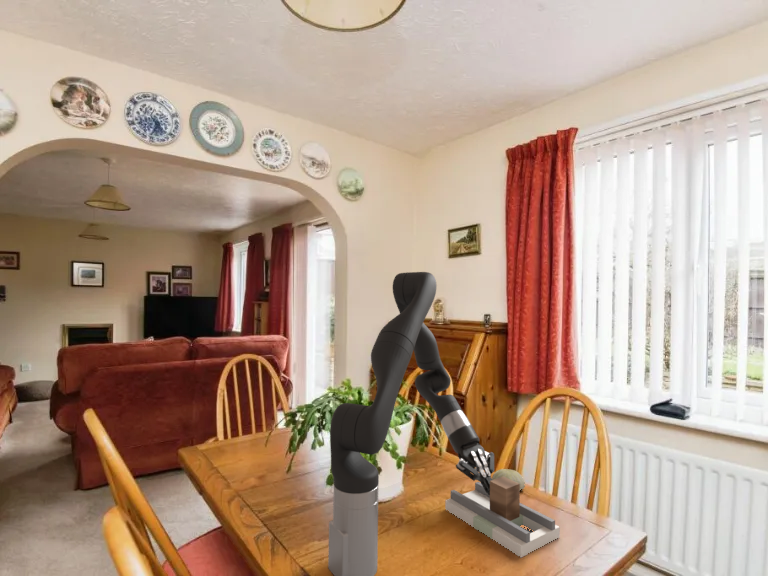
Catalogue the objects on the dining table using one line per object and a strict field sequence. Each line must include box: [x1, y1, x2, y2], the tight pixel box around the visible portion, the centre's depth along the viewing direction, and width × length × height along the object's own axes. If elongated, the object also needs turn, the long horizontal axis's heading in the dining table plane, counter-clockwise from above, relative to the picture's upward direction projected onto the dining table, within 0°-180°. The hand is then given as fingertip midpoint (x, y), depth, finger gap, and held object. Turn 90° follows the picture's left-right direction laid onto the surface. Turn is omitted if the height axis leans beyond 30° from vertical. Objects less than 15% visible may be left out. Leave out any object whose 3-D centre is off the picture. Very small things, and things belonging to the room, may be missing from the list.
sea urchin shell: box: [491, 468, 526, 491], centre depth 123 cm, size 9×8×8 cm
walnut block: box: [490, 476, 521, 521], centre depth 102 cm, size 5×5×8 cm
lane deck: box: [444, 481, 561, 558], centre depth 103 cm, size 14×24×4 cm, turn 34°
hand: (493, 493), depth 105 cm, fingers closed
